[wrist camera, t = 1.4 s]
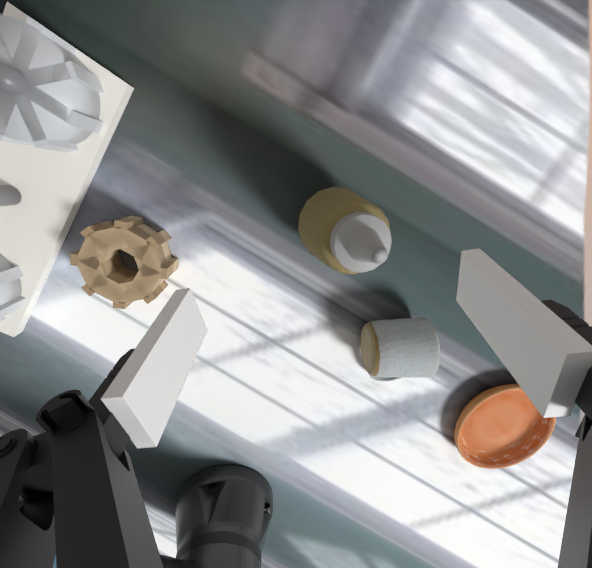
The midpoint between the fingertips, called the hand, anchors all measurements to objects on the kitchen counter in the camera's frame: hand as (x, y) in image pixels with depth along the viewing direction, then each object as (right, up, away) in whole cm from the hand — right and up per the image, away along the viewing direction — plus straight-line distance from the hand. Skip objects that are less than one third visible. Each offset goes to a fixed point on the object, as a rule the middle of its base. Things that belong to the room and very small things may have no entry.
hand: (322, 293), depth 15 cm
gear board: (-31, +10, +18) cm, 37 cm away
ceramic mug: (+12, -8, +29) cm, 32 cm away
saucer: (+31, -21, +36) cm, 52 cm away
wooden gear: (-20, +4, +21) cm, 30 cm away
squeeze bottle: (+3, +8, +22) cm, 24 cm away
